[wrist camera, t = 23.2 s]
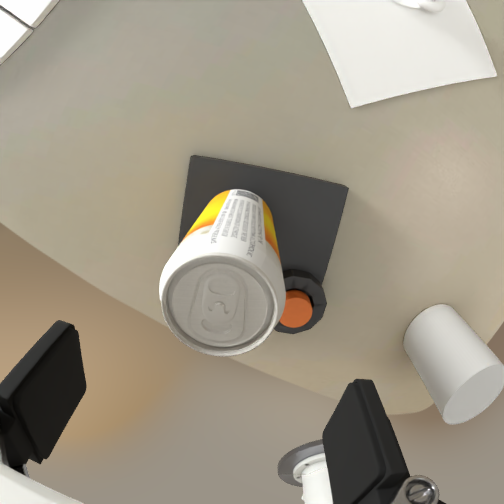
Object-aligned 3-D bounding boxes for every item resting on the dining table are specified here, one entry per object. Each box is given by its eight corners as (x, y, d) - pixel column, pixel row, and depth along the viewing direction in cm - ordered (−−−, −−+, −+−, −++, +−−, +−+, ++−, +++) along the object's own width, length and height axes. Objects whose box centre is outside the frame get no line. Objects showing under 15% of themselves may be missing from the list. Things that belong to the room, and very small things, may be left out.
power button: (305, 321, 30) (307, 330, 28) (272, 316, 30) (273, 325, 28) (314, 292, 29) (316, 300, 27) (280, 286, 29) (281, 294, 27)
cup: (439, 359, 35) (478, 420, 24) (393, 356, 35) (428, 427, 24) (467, 308, 32) (519, 363, 21) (420, 300, 32) (472, 364, 21)
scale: (311, 321, 33) (315, 337, 30) (175, 296, 32) (168, 311, 29) (350, 186, 28) (360, 192, 25) (193, 154, 27) (186, 156, 24)
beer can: (199, 248, 29) (151, 349, 15) (209, 182, 27) (156, 233, 13) (265, 259, 29) (271, 370, 15) (278, 194, 27) (302, 259, 13)
